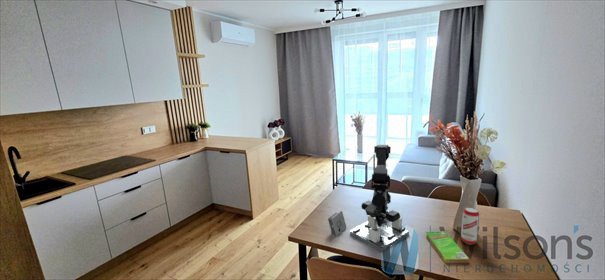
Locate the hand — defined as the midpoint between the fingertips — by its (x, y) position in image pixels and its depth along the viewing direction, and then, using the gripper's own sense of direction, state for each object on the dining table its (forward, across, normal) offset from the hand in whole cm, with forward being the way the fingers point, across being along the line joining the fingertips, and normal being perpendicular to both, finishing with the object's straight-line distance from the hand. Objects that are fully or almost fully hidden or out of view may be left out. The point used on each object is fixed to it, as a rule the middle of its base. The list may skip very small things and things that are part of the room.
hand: (379, 226), depth 132 cm
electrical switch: (+5, -16, -13) cm, 21 cm away
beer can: (+5, +30, +26) cm, 40 cm away
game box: (+5, +25, +14) cm, 29 cm away
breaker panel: (+4, 0, 0) cm, 5 cm away
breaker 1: (+2, -4, 0) cm, 5 cm away
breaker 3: (+2, +4, +9) cm, 9 cm away
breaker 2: (+2, +4, -8) cm, 9 cm away
